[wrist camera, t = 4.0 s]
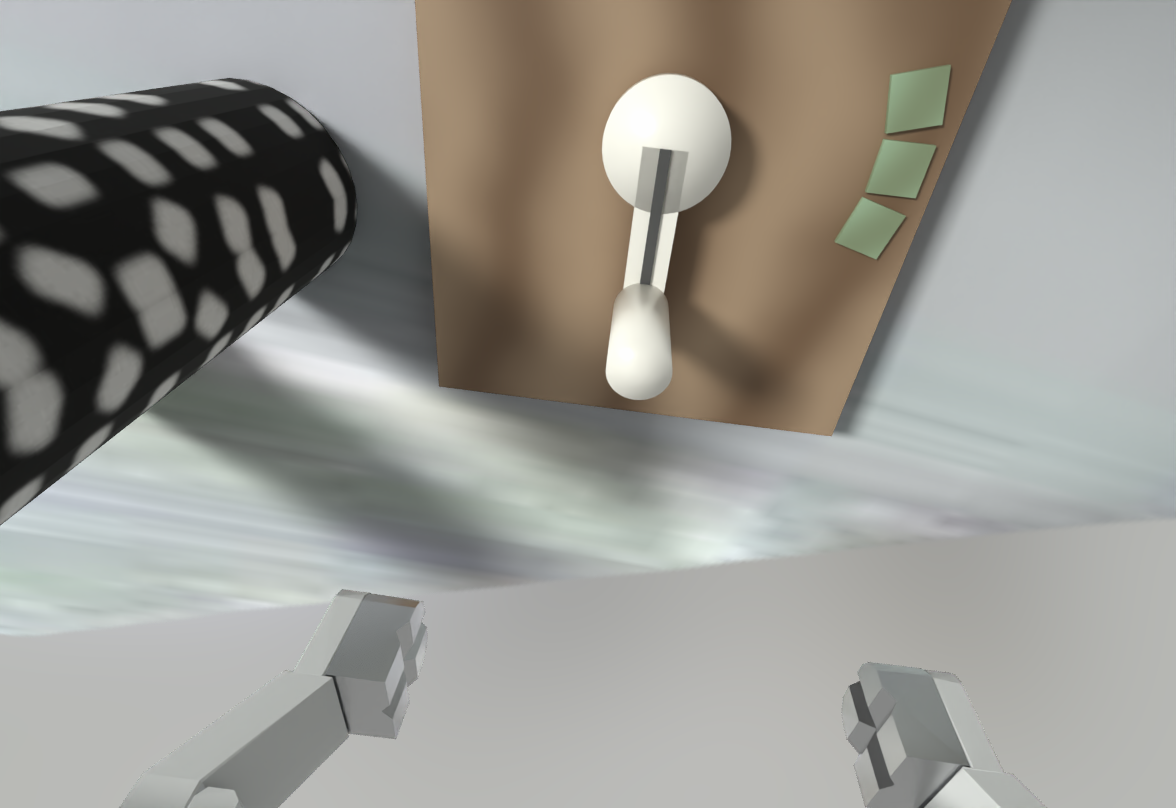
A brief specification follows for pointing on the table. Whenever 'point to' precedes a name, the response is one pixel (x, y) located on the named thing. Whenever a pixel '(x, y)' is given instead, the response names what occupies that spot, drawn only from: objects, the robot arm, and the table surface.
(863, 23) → the dial board
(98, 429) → the spotted tube
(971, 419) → the table surface
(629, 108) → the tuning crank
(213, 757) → the robot arm
